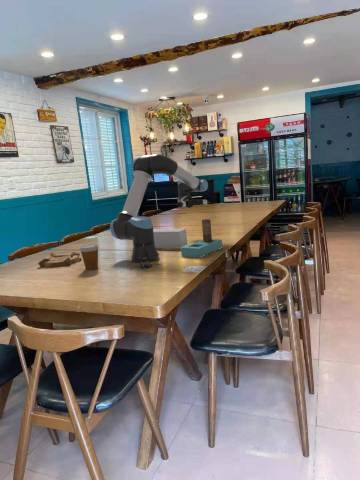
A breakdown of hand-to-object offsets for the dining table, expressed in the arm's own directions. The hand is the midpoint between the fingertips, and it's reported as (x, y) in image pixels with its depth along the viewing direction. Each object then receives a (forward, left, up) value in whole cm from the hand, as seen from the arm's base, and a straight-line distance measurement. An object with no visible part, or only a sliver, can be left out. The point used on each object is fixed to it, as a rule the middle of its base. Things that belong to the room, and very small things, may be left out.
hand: (195, 203), depth 212 cm
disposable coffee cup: (-65, +24, -26) cm, 74 cm away
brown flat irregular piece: (-63, +55, -27) cm, 88 cm away
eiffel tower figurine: (-52, -3, -27) cm, 59 cm away
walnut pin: (-10, -13, -25) cm, 29 cm away
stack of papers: (-10, +23, -27) cm, 36 cm away
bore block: (-16, -13, -26) cm, 33 cm away
